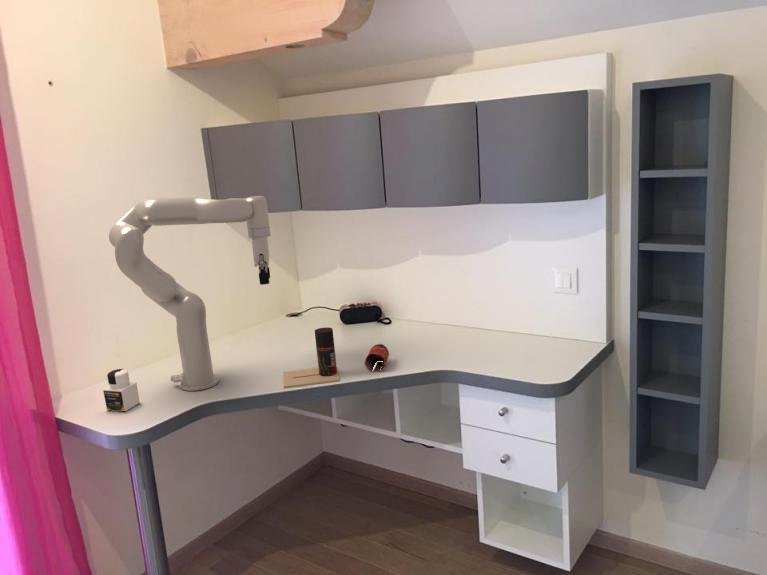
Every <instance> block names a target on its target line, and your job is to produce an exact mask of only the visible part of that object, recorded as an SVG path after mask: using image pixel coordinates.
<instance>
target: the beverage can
mask: <svg viewBox="0 0 767 575" xmlns="http://www.w3.org/2000/svg"><path fill="white" fill-rule="evenodd" d="M389 356H390V352H389V349H388V348H387V347H386V346H385V345H384V344H382V343H378V344H375V345H373V346H372V347H371V348H370V350H369V353H368V354H367V356H366V358H365V360H364V366H365V368H367V369H368V371H369V372H372V370H373V367H374V365H375V363H376V362H377V361H383V364H382V363H381V364H382V368H381V370H380V369H379V370H380V371H379V370H378V371H379V372H378V373H380V372H381V371H383V370H384V369H385V367H386V363H387V361H388V359H389Z"/></svg>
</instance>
